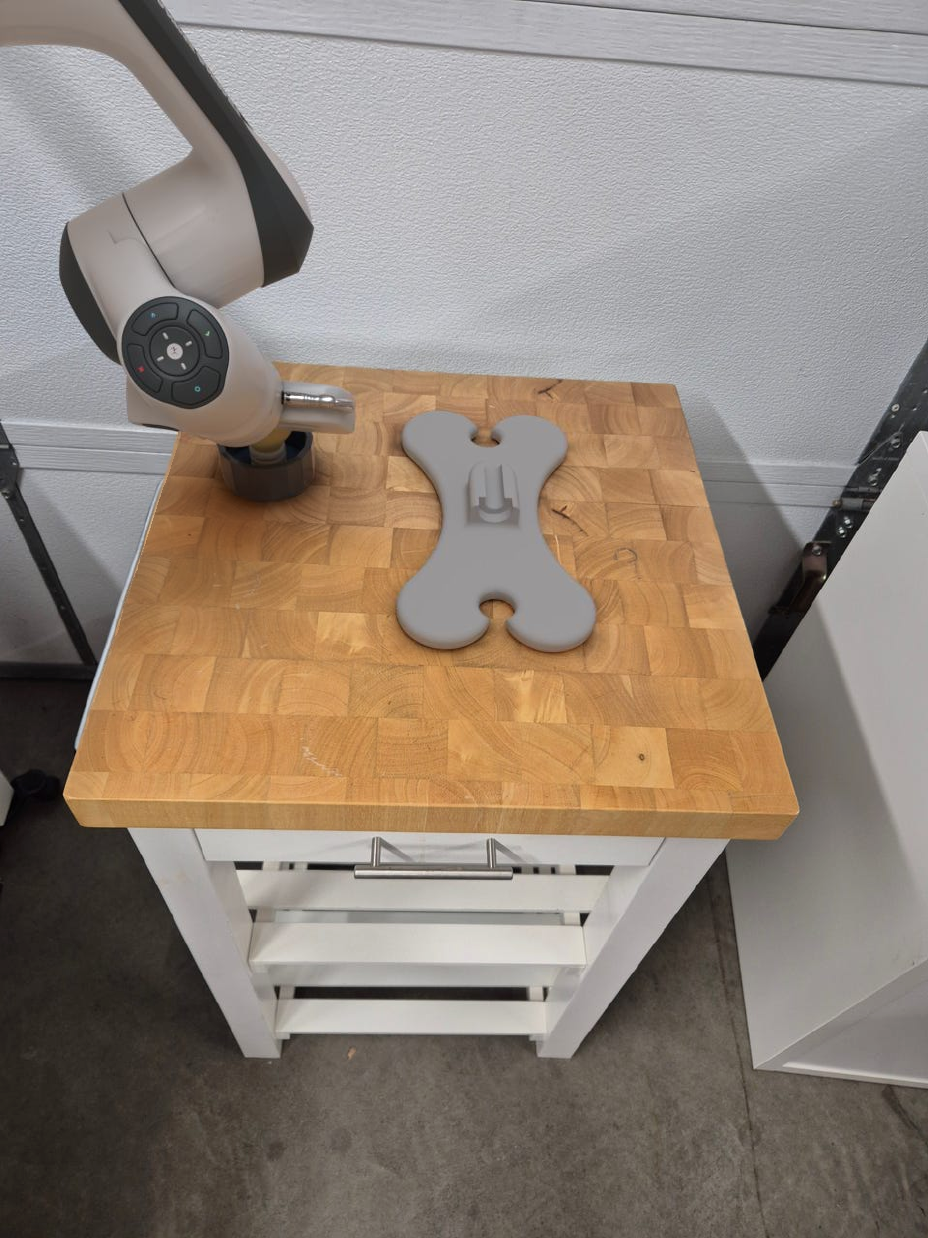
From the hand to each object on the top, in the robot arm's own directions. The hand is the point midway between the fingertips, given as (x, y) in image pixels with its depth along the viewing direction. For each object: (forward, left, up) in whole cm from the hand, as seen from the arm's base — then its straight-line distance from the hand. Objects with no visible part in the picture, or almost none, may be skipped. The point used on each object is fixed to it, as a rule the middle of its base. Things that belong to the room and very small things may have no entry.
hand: (261, 416), depth 83 cm
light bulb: (0, 0, -7) cm, 7 cm away
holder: (+24, -6, -7) cm, 26 cm away
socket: (0, 0, -7) cm, 7 cm away
